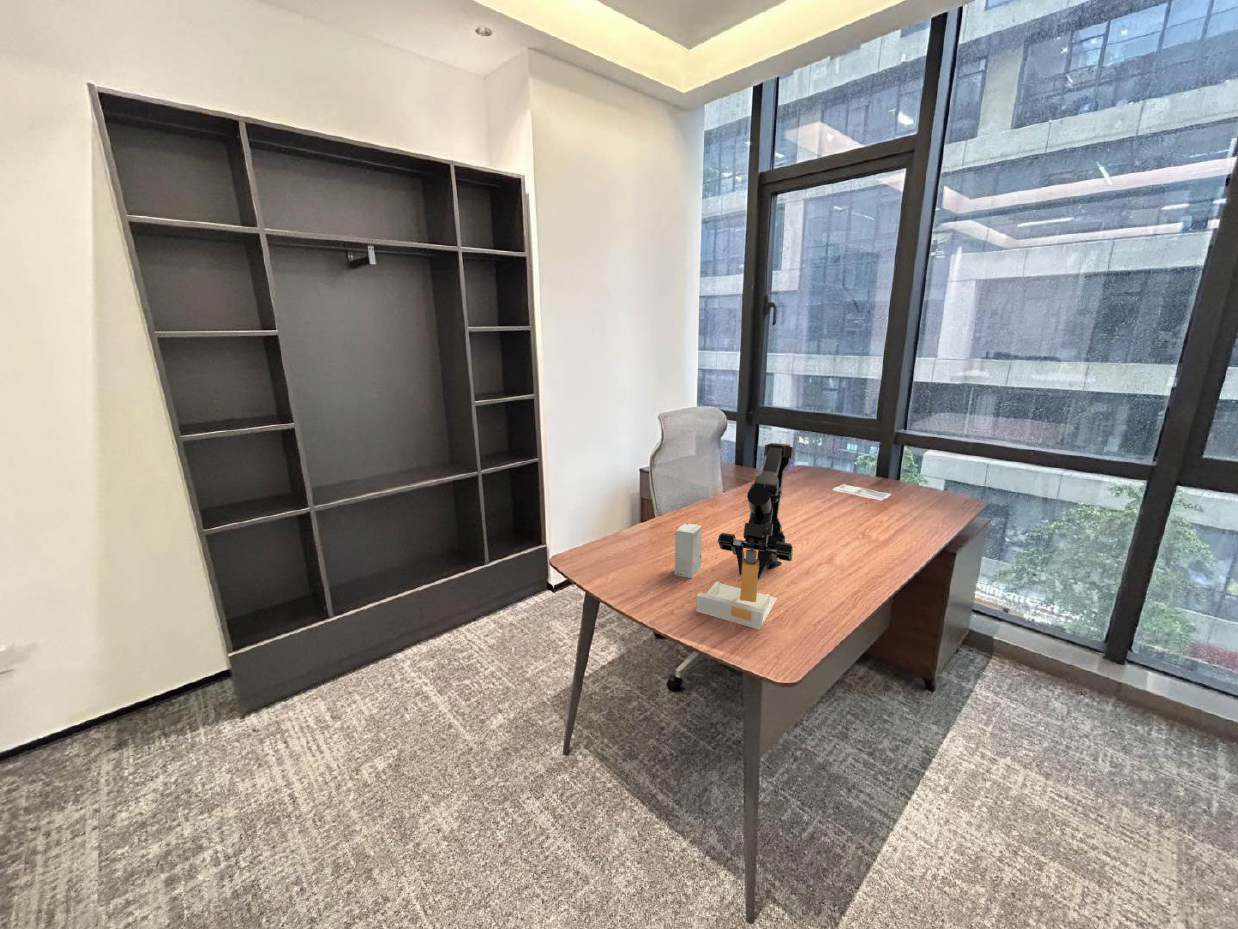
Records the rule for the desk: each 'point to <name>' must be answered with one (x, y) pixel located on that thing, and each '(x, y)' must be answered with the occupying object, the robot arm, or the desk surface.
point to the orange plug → (749, 577)
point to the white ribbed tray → (734, 605)
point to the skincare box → (688, 550)
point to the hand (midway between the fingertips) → (749, 577)
